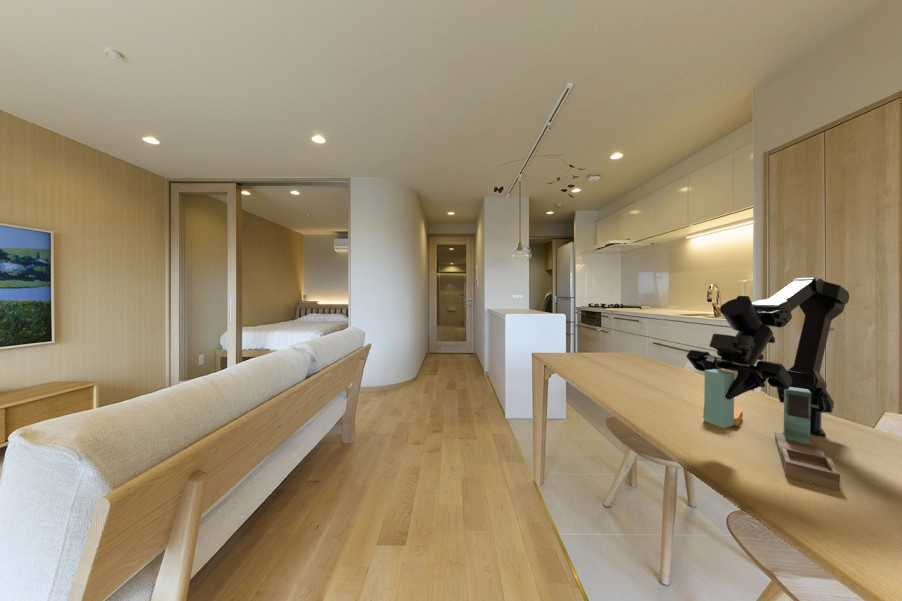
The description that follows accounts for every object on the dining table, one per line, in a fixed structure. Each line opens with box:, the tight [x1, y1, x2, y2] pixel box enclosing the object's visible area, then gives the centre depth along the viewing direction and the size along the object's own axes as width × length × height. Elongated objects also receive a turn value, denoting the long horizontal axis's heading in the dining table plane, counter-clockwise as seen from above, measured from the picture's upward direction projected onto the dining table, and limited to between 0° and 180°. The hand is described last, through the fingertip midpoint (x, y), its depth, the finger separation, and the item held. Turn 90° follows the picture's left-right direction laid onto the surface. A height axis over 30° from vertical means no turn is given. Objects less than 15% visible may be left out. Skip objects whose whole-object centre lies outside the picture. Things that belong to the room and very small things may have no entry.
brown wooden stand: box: [774, 387, 841, 491], centre depth 70 cm, size 22×7×14 cm, turn 139°
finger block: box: [703, 369, 735, 429], centre depth 74 cm, size 4×4×12 cm
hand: (716, 395), depth 74 cm, fingers closed on finger block, 4 cm apart
